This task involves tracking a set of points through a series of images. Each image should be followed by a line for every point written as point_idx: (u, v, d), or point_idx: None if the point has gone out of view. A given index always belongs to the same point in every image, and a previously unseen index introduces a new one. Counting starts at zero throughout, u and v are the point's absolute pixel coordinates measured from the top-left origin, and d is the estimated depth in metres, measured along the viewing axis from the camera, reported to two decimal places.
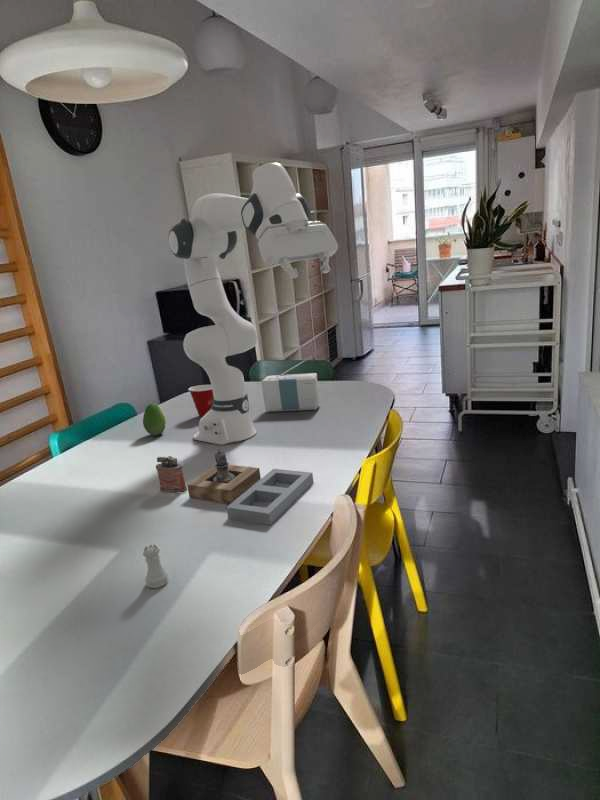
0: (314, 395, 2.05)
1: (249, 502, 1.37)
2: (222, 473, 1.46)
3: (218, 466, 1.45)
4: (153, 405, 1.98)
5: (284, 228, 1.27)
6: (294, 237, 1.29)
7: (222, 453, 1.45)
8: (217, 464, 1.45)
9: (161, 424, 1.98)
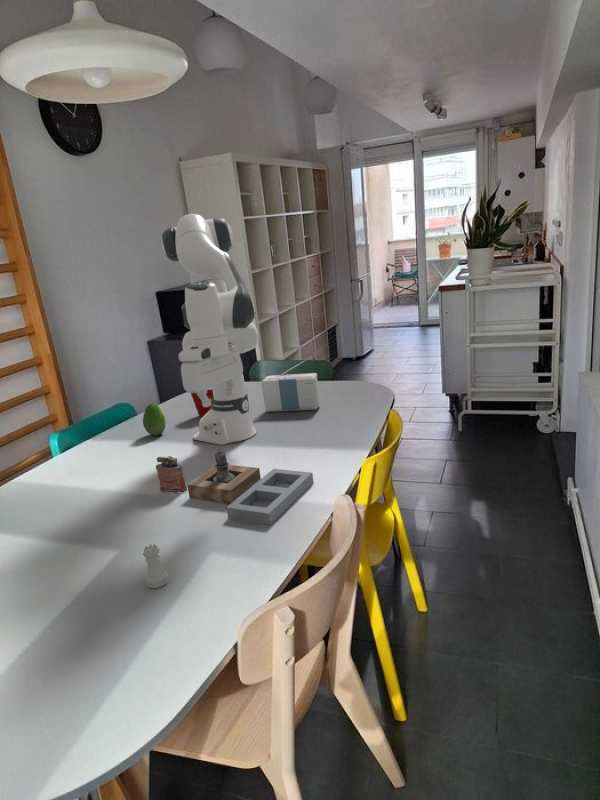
0: (314, 395, 2.05)
1: (249, 502, 1.37)
2: (222, 473, 1.46)
3: (218, 466, 1.45)
4: (153, 405, 1.98)
5: (210, 361, 1.33)
6: (214, 366, 1.36)
7: (222, 453, 1.45)
8: (217, 464, 1.45)
9: (161, 424, 1.98)
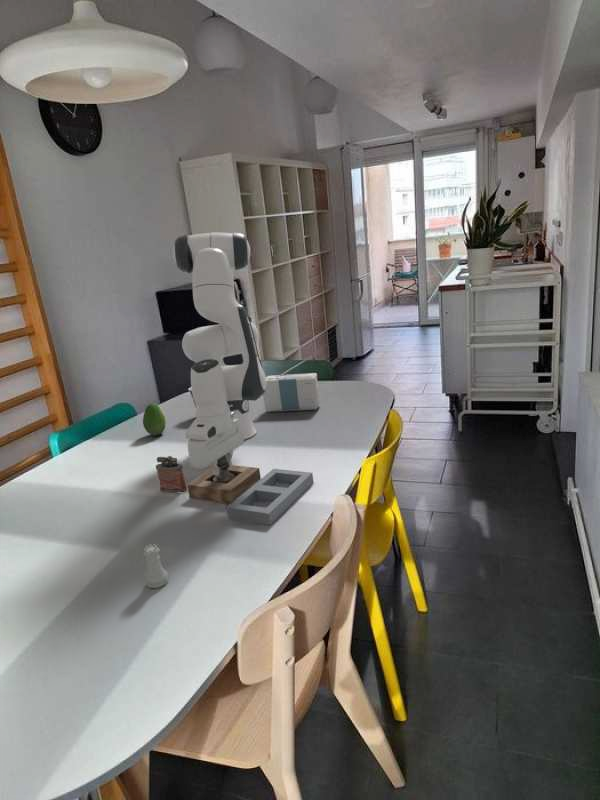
0: (314, 395, 2.05)
1: (249, 502, 1.37)
2: (222, 473, 1.46)
3: (218, 465, 1.45)
4: (153, 405, 1.98)
5: (215, 438, 1.39)
6: (218, 440, 1.42)
7: None
8: (217, 464, 1.45)
9: (161, 424, 1.98)
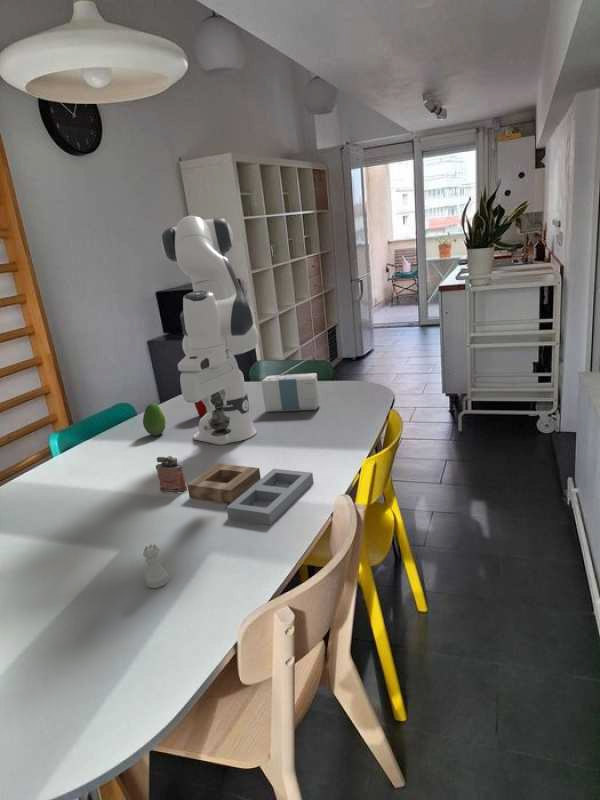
0: (314, 395, 2.05)
1: (249, 502, 1.37)
2: (217, 414, 1.41)
3: None
4: (153, 405, 1.98)
5: (209, 371, 1.34)
6: (212, 375, 1.37)
7: (217, 393, 1.40)
8: None
9: (161, 424, 1.98)
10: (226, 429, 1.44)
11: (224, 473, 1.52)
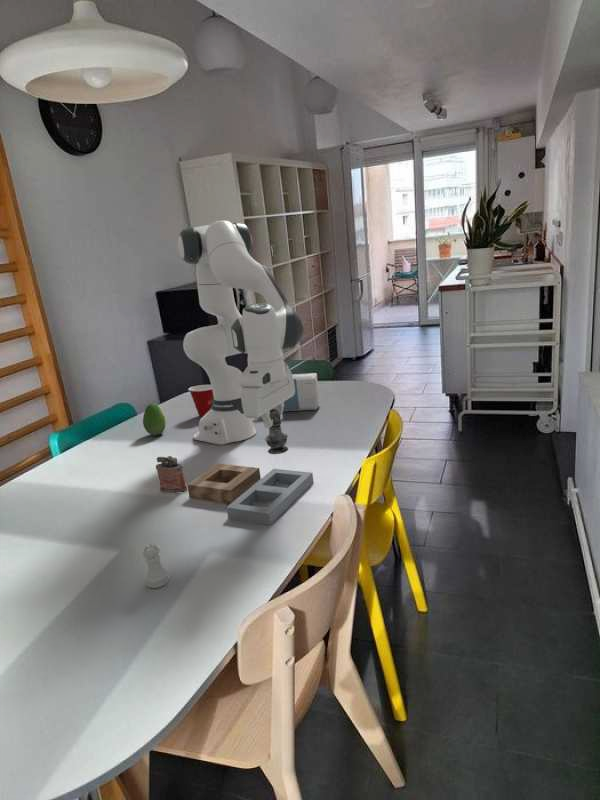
0: (314, 395, 2.05)
1: (249, 502, 1.37)
2: (275, 431, 1.38)
3: None
4: (153, 405, 1.98)
5: (269, 385, 1.31)
6: (271, 390, 1.34)
7: (275, 410, 1.37)
8: None
9: (161, 424, 1.98)
10: (283, 447, 1.41)
11: (224, 473, 1.52)
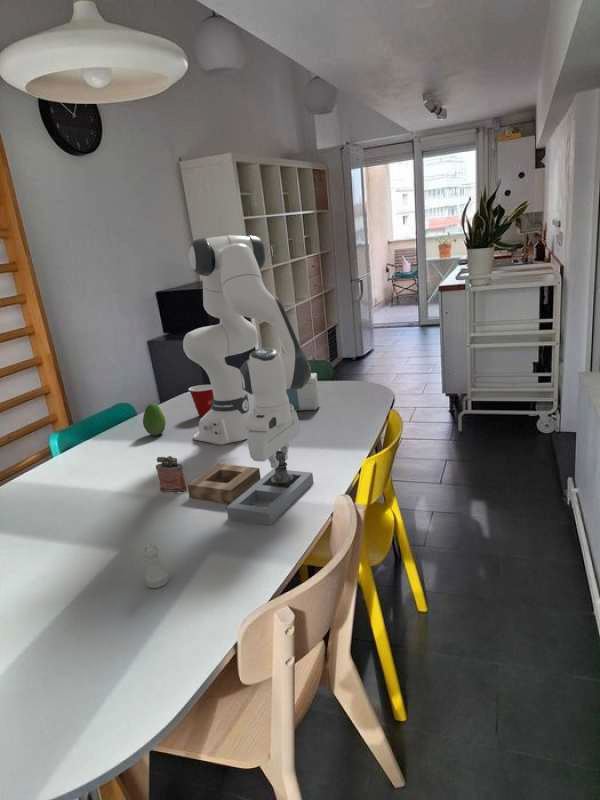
0: (314, 395, 2.05)
1: (249, 502, 1.37)
2: (281, 473, 1.41)
3: None
4: (153, 405, 1.98)
5: (275, 429, 1.34)
6: (277, 432, 1.37)
7: (281, 453, 1.40)
8: None
9: (161, 424, 1.98)
10: None
11: (224, 473, 1.52)
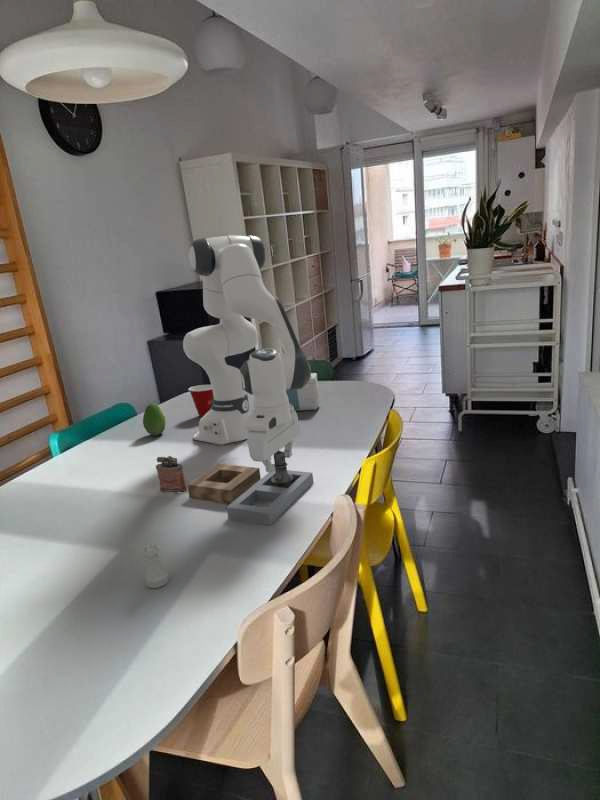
0: (314, 395, 2.05)
1: (249, 502, 1.37)
2: (281, 473, 1.41)
3: (277, 466, 1.41)
4: (153, 405, 1.98)
5: (275, 429, 1.34)
6: (277, 432, 1.37)
7: (281, 453, 1.40)
8: (276, 464, 1.41)
9: (161, 424, 1.98)
10: None
11: (224, 473, 1.52)
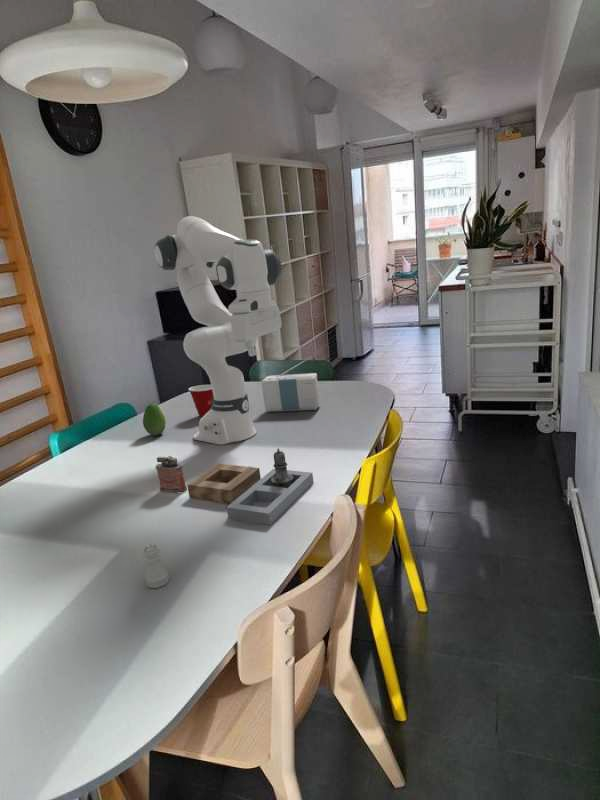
0: (314, 395, 2.05)
1: (249, 502, 1.37)
2: (281, 473, 1.41)
3: (277, 466, 1.41)
4: (153, 405, 1.98)
5: (257, 313, 1.44)
6: (259, 319, 1.47)
7: (281, 453, 1.40)
8: (276, 464, 1.41)
9: (161, 424, 1.98)
10: None
11: (224, 473, 1.52)
